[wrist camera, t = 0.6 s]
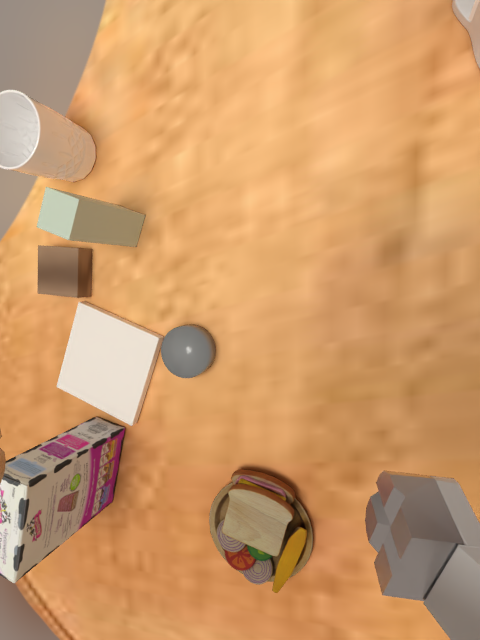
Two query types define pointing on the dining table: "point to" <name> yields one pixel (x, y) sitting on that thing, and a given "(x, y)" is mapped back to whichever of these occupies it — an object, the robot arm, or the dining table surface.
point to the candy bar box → (55, 492)
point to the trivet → (109, 362)
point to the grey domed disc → (188, 350)
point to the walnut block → (64, 271)
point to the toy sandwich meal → (261, 528)
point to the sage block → (89, 219)
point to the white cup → (42, 140)
